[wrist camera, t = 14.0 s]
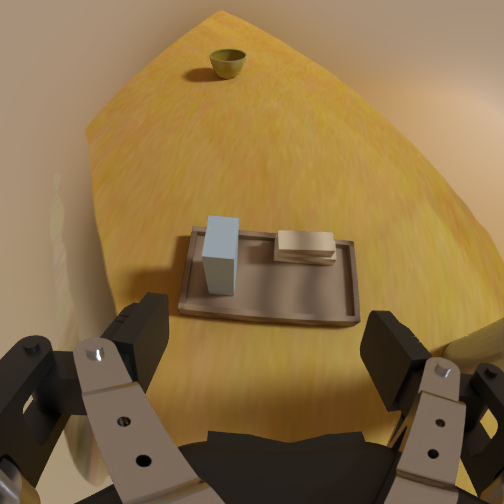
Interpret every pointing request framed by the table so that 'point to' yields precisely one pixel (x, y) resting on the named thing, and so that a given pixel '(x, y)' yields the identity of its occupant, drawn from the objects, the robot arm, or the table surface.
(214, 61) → the green bowl
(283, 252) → the offcut stack
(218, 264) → the blue-grey rectangular block
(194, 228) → the brown serving tray
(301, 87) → the table surface
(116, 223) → the table surface
